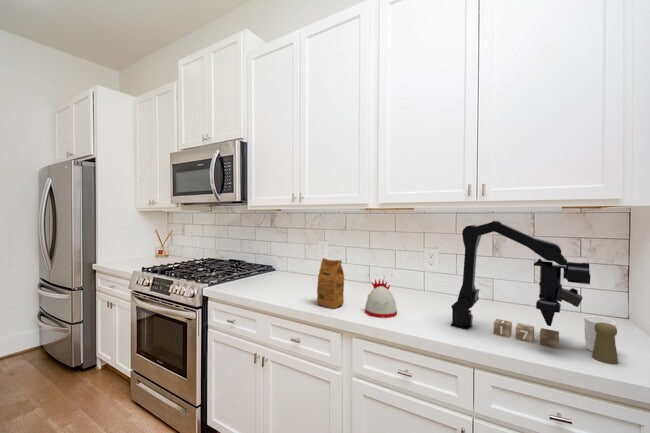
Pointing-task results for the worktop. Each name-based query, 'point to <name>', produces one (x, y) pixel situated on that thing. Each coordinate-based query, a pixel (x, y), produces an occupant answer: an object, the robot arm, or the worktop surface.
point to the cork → (605, 343)
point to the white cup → (590, 331)
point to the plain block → (549, 338)
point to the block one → (502, 328)
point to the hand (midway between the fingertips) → (549, 325)
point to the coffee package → (330, 284)
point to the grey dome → (381, 302)
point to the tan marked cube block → (524, 333)
